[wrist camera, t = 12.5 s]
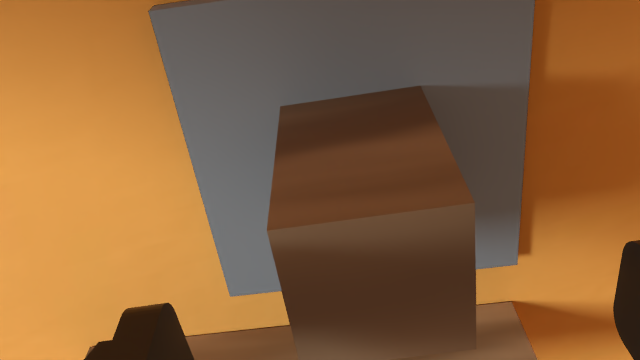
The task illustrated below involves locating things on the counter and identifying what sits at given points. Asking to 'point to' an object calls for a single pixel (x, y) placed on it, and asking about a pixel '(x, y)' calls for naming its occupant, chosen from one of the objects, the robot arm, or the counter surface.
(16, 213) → the counter surface
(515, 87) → the mat
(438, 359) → the crate
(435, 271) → the block
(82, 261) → the counter surface
